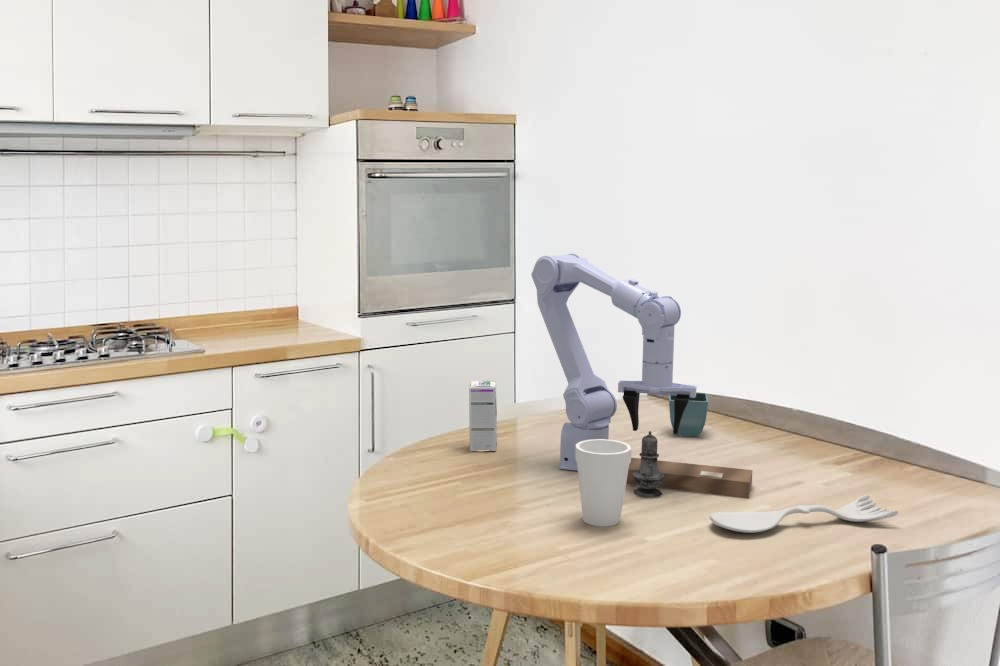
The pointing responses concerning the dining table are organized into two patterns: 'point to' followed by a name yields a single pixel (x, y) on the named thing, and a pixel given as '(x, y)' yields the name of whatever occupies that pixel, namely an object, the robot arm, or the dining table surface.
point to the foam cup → (602, 479)
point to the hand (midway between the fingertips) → (655, 431)
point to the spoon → (768, 520)
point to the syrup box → (483, 415)
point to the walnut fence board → (699, 478)
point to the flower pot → (691, 415)
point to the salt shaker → (648, 470)
